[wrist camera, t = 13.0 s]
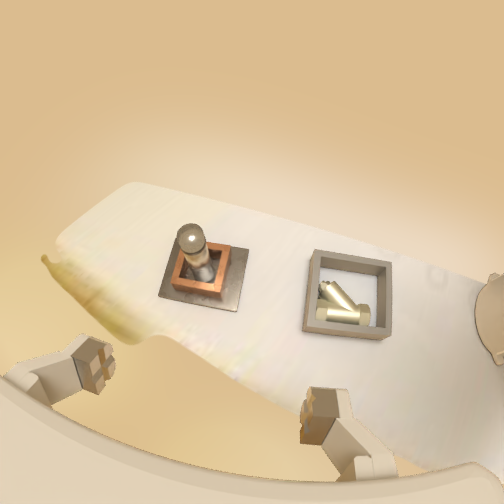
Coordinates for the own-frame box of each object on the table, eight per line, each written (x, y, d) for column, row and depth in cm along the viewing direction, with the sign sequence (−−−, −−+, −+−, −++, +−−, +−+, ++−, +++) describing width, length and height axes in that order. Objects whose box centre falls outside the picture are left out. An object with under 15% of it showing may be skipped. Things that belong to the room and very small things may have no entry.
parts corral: (382, 271, 44) (391, 262, 41) (381, 339, 39) (391, 335, 36) (310, 259, 45) (314, 249, 42) (302, 331, 40) (306, 326, 37)
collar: (248, 250, 46) (248, 239, 43) (236, 312, 41) (235, 305, 38) (176, 239, 47) (171, 228, 43) (159, 296, 42) (152, 288, 39)
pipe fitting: (313, 285, 44) (310, 327, 41) (318, 274, 41) (315, 319, 37) (361, 291, 43) (361, 332, 40) (370, 280, 40) (371, 324, 37)
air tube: (216, 264, 44) (206, 224, 34) (212, 284, 43) (199, 249, 33) (196, 260, 44) (180, 221, 35) (190, 280, 43) (172, 245, 33)
